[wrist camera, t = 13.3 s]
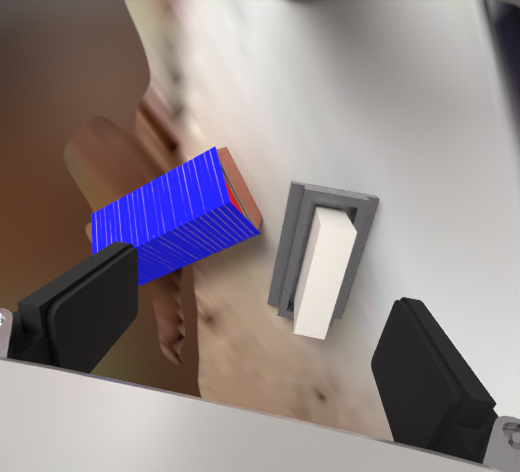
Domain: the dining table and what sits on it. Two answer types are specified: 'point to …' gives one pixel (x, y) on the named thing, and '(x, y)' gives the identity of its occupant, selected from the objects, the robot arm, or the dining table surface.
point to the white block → (322, 270)
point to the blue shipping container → (181, 215)
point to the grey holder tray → (296, 237)
